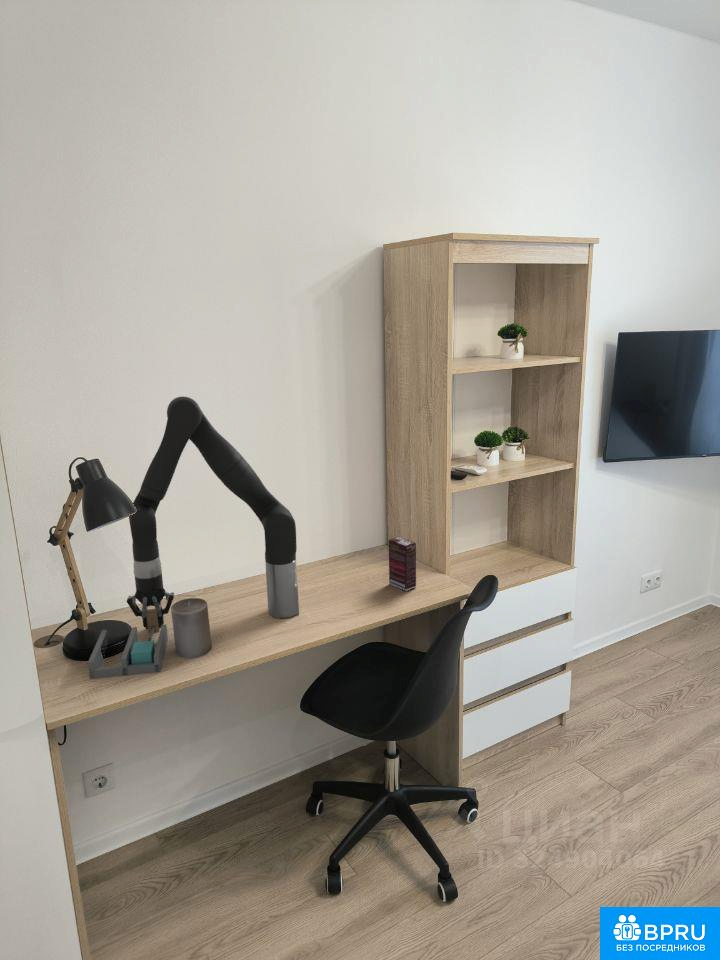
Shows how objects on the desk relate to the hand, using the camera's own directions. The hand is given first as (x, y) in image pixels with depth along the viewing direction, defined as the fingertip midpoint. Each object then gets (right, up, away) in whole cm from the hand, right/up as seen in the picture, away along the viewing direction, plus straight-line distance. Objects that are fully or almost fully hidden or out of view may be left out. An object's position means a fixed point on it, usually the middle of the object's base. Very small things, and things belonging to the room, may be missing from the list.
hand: (153, 627), depth 203 cm
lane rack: (-1, -5, -16) cm, 17 cm away
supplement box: (+75, +8, +28) cm, 80 cm away
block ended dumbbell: (+2, -4, -10) cm, 11 cm away
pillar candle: (+14, -4, -12) cm, 19 cm away
